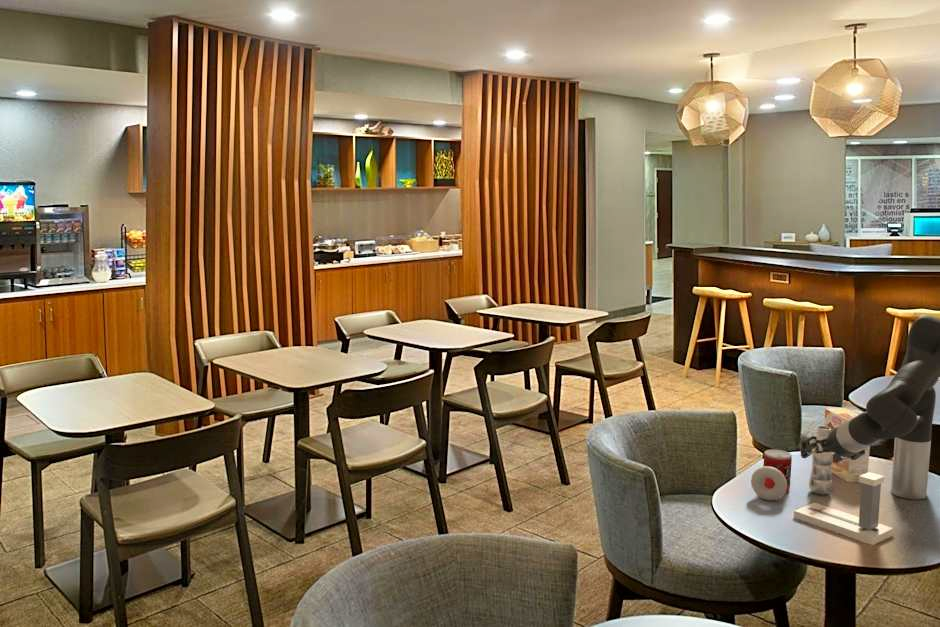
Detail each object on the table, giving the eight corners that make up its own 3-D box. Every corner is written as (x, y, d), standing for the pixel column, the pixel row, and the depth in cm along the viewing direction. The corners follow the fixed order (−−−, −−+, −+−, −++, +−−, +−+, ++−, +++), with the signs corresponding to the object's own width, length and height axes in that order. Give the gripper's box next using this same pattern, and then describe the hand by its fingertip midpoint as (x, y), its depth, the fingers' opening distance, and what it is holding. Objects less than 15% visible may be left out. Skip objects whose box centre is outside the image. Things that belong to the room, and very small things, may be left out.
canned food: (777, 495, 239) (779, 459, 238) (756, 486, 246) (758, 451, 245) (795, 490, 243) (797, 455, 241) (774, 482, 250) (776, 447, 248)
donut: (787, 501, 234) (789, 468, 233) (784, 505, 231) (786, 471, 230) (751, 494, 240) (753, 462, 238) (748, 498, 237) (750, 465, 235)
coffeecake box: (820, 466, 264) (824, 408, 262) (841, 465, 265) (845, 407, 262) (846, 482, 250) (850, 420, 247) (868, 481, 250) (872, 420, 248)
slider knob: (865, 521, 214) (869, 472, 212) (880, 526, 210) (884, 476, 208) (855, 526, 211) (859, 475, 209) (870, 531, 208) (874, 480, 206)
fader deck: (814, 509, 228) (814, 502, 228) (892, 535, 211) (893, 527, 210) (793, 517, 222) (794, 510, 222) (872, 545, 205) (873, 537, 205)
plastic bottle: (827, 489, 244) (831, 424, 241) (835, 497, 237) (839, 431, 234) (805, 488, 244) (809, 424, 241) (812, 497, 238) (816, 430, 235)
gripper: (877, 426, 200) (842, 447, 214) (822, 418, 199) (791, 439, 213) (881, 456, 196) (846, 474, 210) (825, 447, 195) (793, 466, 210)
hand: (818, 456), depth 212 cm, fingers open, 8 cm apart
